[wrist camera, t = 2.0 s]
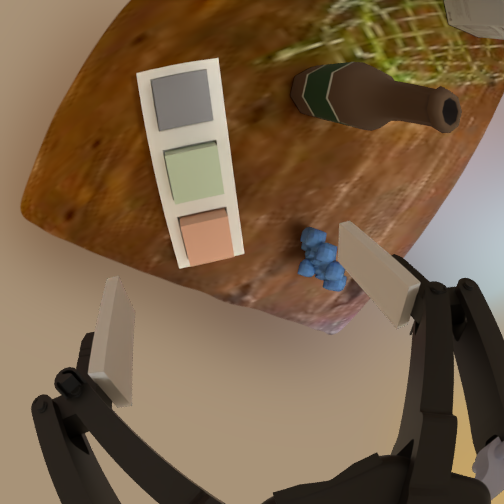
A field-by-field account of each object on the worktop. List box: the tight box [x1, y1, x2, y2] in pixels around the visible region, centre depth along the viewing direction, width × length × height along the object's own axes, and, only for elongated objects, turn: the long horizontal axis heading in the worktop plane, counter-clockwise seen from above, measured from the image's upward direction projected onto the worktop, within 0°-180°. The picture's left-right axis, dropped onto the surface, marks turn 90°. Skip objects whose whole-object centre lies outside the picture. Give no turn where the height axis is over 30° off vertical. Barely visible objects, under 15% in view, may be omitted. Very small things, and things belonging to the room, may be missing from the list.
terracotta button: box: [180, 208, 234, 267], centre depth 38 cm, size 6×6×3 cm
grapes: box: [298, 227, 347, 291], centre depth 43 cm, size 12×7×12 cm, turn 26°
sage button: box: [165, 142, 224, 204], centre depth 34 cm, size 6×6×3 cm
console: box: [136, 58, 244, 269], centre depth 36 cm, size 27×10×3 cm, turn 8°
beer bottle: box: [290, 62, 462, 133], centre depth 25 cm, size 8×8×24 cm
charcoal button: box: [152, 70, 213, 131], centre depth 29 cm, size 6×6×3 cm
